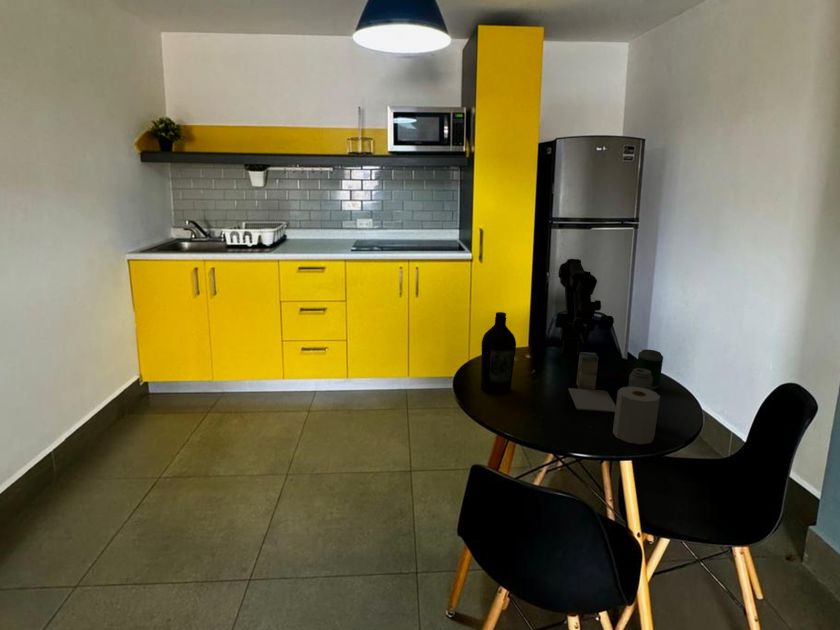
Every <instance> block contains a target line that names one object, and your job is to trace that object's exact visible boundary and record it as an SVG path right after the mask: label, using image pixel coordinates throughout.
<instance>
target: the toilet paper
mask: <svg viewBox="0 0 840 630" xmlns="http://www.w3.org/2000/svg"><path fill="white" fill-rule="evenodd" d="M660 400H661V396H660V395H659V394H658V393H657V392H656V391H655V390H648V389H645V388H640V387H632V386H631V387H628V386H624V387H621V388H619V389H618V390H617V395H616V402H615V403H616V404H615V405H616V410H615V412H614V419H613V428H612V433H613V435H614V437H616V439H619V440H622V441H623V442H626V443H629V444H635V445H647V444H651V443H652V442H653V441H654V439H655V435H656V434H655V433H656V428H657V427H656V426H657V420H658V415H659V414H658V413H659V408H660V407H659V406H660V402H661V401H660Z"/></svg>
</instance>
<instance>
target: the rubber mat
mask: <svg viewBox="0 0 840 630" xmlns="http://www.w3.org/2000/svg"><path fill="white" fill-rule="evenodd" d="M567 390H568V392H569V394H570V396H571V399H572V401H573V404H574V406H575V409H576V410H580V411H592V412H593V411H595V412H606V413H607V412H608V413H611V412H612V413H615V410H616V404H615V402H614V400H613V398H612V396H611V395H610V394H609V392H608V391H607V390H600V389H595V390H589V389H579V388H570V387H568V389H567Z"/></svg>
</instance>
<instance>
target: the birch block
mask: <svg viewBox="0 0 840 630" xmlns="http://www.w3.org/2000/svg"><path fill="white" fill-rule="evenodd" d="M579 353H580V355H579V356H578V366H577V375H576V383H575V384H576V387H577V389H589V390H596V386H597V385H596V384H597V376H598V366H599V356H598V355H597V353H596V352H584V351H579Z"/></svg>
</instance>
